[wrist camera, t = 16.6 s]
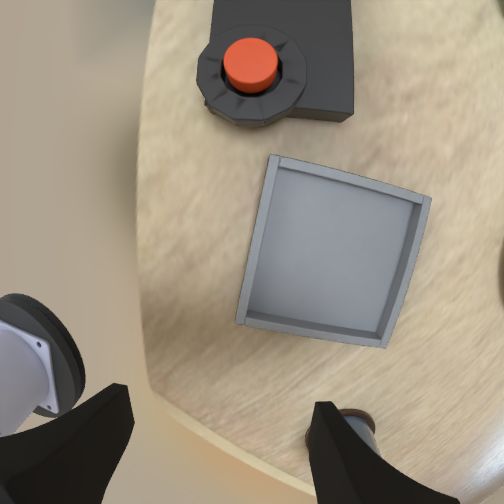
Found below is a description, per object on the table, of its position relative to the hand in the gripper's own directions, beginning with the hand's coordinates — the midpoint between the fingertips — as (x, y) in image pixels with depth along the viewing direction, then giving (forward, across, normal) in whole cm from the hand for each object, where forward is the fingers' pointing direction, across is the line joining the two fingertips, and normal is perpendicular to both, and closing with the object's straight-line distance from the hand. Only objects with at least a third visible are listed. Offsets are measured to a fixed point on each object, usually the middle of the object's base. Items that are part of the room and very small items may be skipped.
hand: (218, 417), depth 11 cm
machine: (+10, -2, -22) cm, 24 cm away
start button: (+6, 0, -14) cm, 15 cm away
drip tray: (+10, -6, -4) cm, 13 cm away
